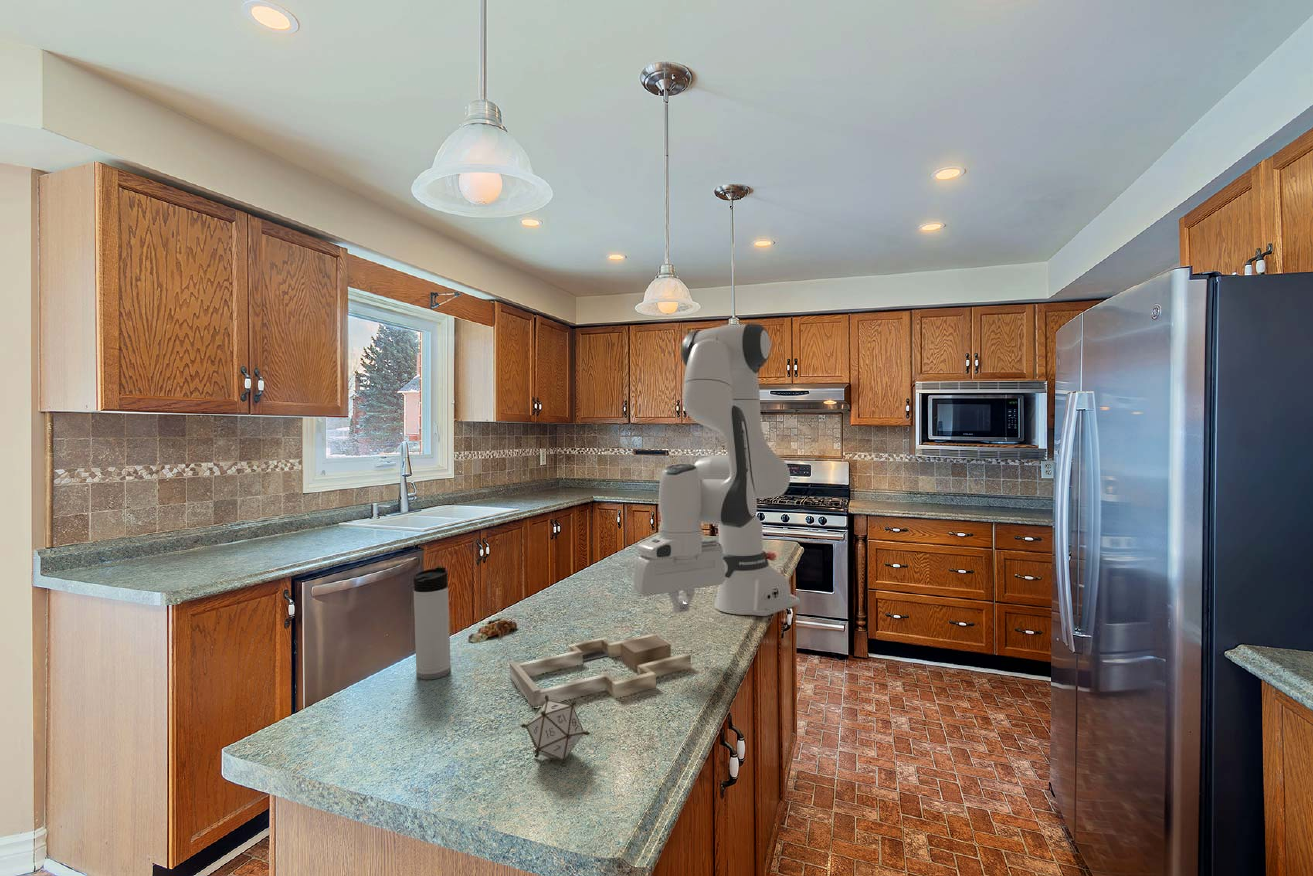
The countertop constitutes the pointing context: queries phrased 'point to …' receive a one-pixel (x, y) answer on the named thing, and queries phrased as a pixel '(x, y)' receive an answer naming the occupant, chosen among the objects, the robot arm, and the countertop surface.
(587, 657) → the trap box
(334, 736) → the countertop surface
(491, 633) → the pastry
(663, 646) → the walnut block
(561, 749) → the game die
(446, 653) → the travel mug
